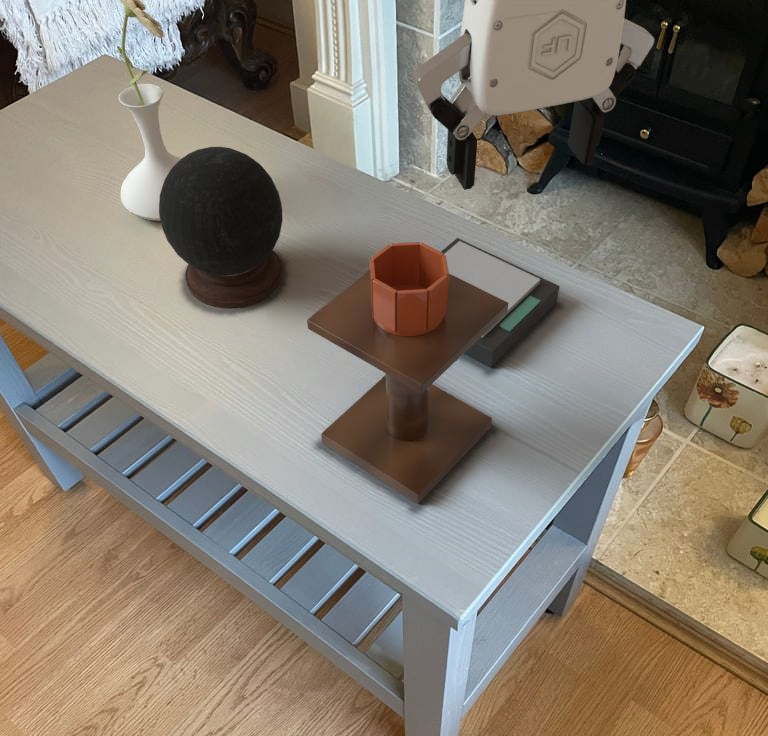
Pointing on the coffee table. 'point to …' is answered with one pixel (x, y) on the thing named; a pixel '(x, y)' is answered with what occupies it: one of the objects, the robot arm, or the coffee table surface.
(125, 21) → the flower in vase
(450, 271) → the scale
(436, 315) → the bowl
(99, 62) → the coffee table surface
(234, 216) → the black orb ornament
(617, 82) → the robot arm
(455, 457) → the stand
